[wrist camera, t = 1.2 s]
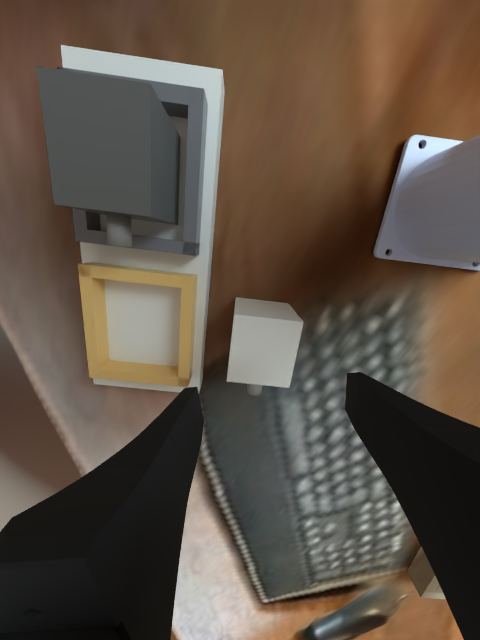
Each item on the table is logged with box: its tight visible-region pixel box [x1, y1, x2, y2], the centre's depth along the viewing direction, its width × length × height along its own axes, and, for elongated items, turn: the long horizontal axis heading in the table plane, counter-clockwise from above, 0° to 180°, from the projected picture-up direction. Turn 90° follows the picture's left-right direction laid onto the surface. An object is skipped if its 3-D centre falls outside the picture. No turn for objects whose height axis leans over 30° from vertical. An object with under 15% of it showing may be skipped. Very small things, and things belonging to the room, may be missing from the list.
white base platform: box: [57, 45, 225, 393], centre depth 17 cm, size 9×22×4 cm, turn 173°
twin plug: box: [37, 66, 181, 247], centre depth 13 cm, size 4×7×5 cm
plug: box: [227, 297, 304, 396], centre depth 18 cm, size 4×7×5 cm
